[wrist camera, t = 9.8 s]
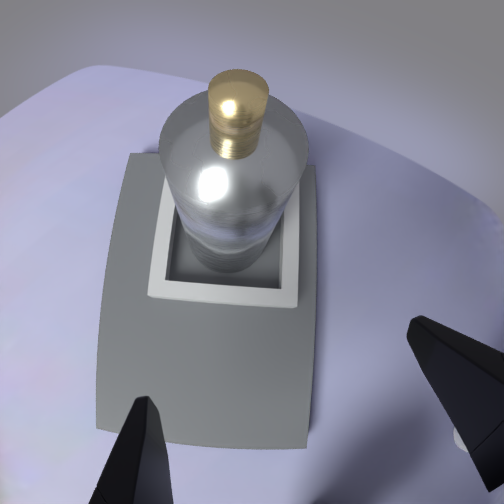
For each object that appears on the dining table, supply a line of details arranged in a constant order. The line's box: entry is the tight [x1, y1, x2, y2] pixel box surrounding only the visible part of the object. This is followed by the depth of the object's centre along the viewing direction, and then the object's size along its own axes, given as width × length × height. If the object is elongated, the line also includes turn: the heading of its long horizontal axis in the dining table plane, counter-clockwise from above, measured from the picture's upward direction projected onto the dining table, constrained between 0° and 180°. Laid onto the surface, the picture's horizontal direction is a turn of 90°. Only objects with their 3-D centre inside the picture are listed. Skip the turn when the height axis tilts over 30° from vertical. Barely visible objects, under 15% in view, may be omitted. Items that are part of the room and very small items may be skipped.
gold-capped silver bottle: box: [159, 69, 309, 274], centre depth 14 cm, size 5×5×14 cm
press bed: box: [96, 153, 317, 449], centre depth 20 cm, size 20×14×3 cm
